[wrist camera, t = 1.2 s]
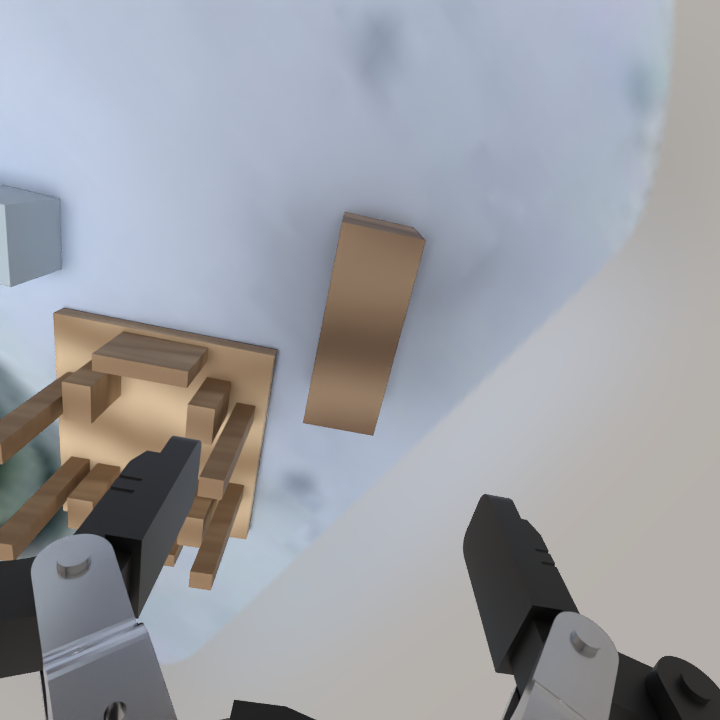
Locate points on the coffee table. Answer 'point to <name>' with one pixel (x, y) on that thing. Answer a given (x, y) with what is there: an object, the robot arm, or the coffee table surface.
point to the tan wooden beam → (362, 322)
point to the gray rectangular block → (28, 235)
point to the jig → (145, 426)
